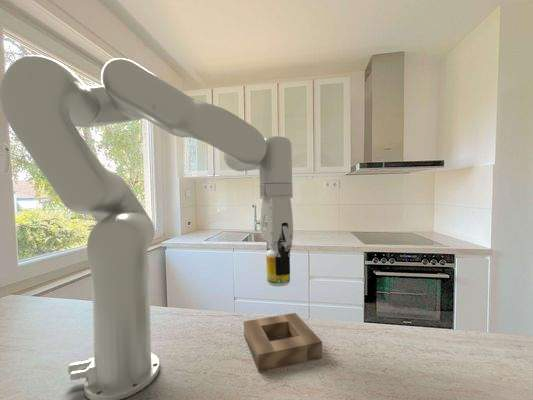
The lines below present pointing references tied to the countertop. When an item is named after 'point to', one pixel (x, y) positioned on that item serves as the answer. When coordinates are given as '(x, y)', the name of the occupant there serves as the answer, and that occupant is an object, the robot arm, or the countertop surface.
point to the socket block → (281, 341)
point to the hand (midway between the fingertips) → (278, 270)
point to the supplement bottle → (271, 273)
